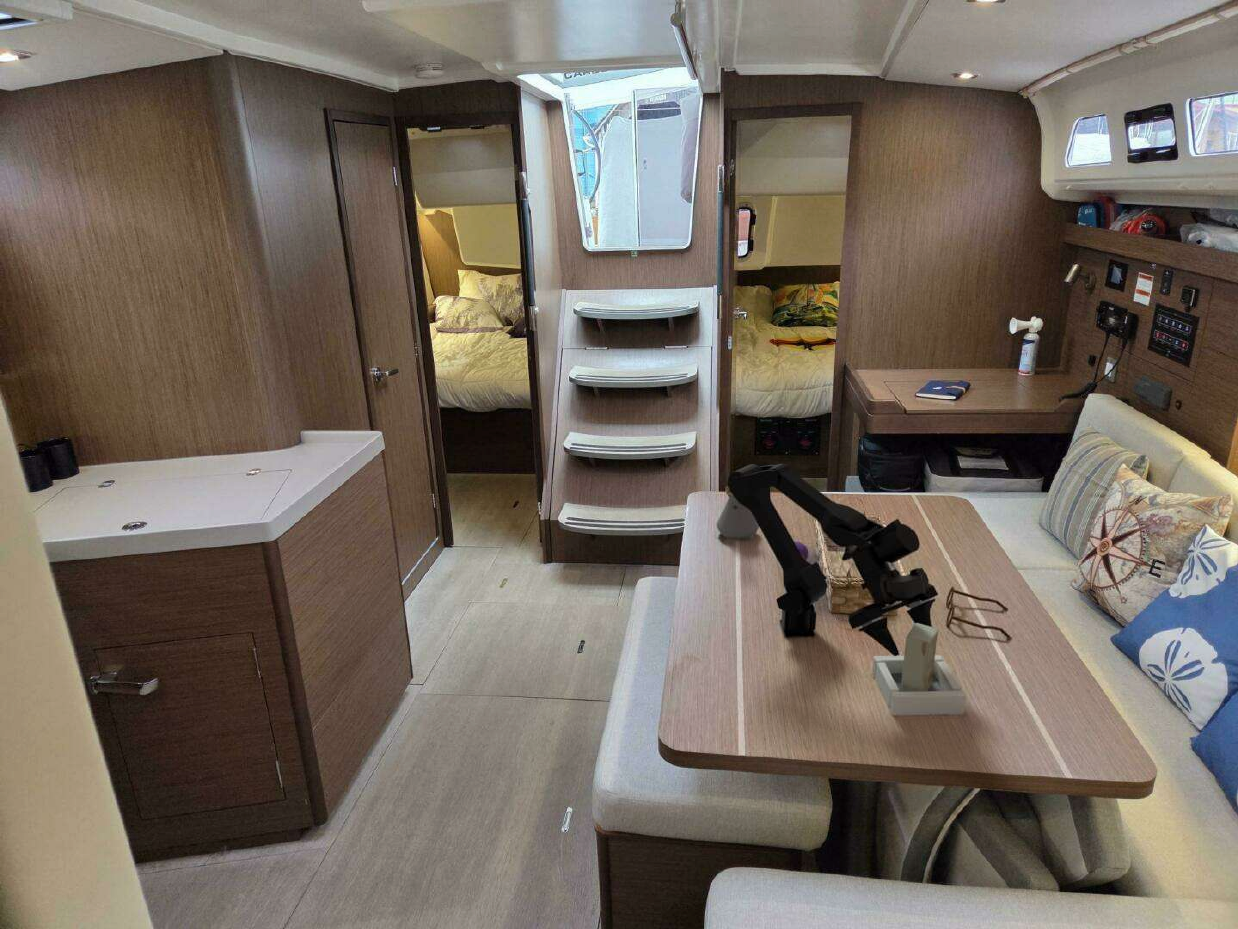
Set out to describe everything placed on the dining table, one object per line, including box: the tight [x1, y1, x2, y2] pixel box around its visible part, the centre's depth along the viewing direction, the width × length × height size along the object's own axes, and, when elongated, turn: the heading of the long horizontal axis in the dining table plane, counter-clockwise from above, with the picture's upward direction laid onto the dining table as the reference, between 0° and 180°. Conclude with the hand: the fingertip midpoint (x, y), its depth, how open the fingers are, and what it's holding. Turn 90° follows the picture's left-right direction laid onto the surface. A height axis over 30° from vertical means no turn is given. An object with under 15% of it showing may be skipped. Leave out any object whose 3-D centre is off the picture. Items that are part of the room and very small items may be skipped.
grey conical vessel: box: [716, 488, 760, 542], centre depth 213 cm, size 21×12×15 cm, turn 168°
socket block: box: [871, 654, 967, 716], centre depth 152 cm, size 13×13×4 cm
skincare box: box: [900, 623, 939, 692], centre depth 150 cm, size 6×4×12 cm
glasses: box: [945, 586, 1013, 640], centre depth 176 cm, size 13×13×5 cm
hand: (914, 648), depth 150 cm, fingers open, 9 cm apart
